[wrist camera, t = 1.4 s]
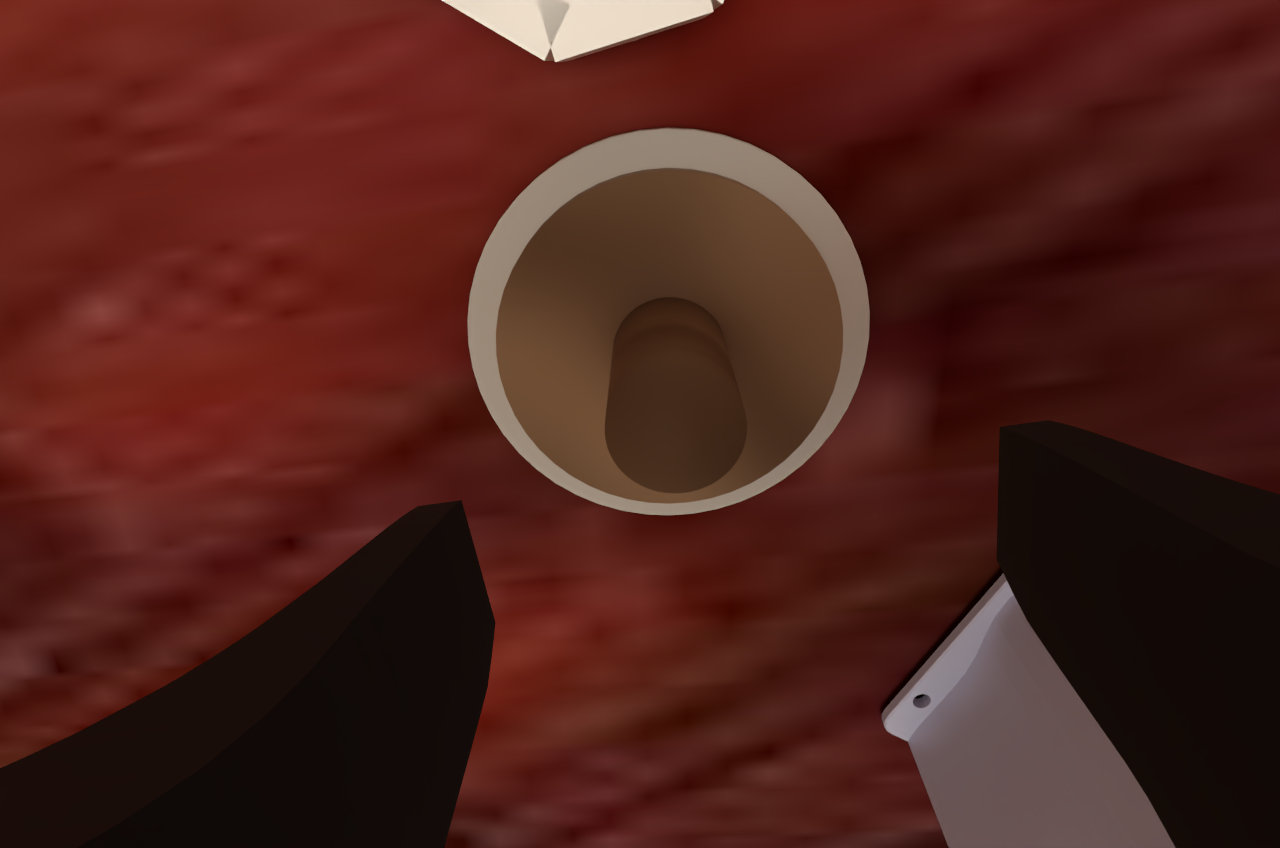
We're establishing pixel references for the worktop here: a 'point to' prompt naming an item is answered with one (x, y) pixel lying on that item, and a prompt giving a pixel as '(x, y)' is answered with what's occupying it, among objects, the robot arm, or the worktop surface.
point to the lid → (669, 336)
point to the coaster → (654, 153)
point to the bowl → (581, 22)
